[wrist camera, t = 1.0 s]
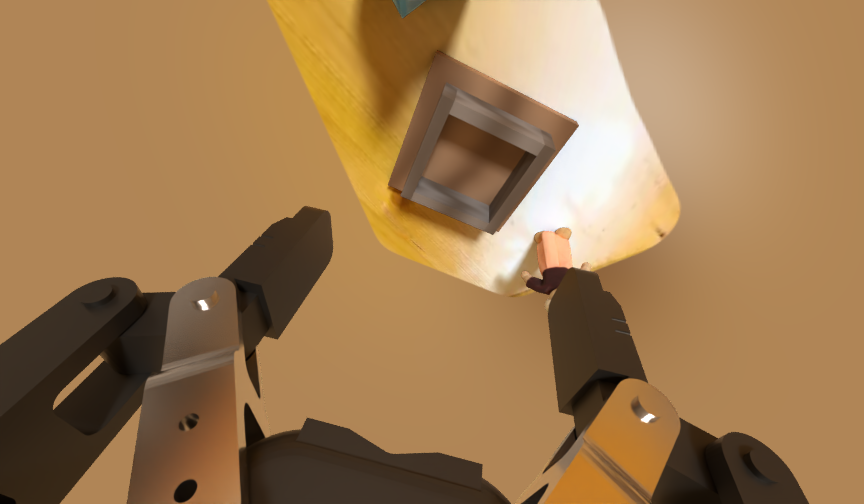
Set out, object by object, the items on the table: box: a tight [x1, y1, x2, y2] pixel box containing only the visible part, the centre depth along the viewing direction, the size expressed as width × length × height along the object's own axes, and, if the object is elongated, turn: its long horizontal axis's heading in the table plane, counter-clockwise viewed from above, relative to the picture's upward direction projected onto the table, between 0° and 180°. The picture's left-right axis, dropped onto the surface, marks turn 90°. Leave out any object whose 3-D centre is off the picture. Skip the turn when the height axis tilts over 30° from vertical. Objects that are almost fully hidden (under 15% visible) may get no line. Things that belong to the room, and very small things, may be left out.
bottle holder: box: [388, 50, 579, 235], centre depth 34 cm, size 15×15×4 cm
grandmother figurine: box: [521, 228, 591, 312], centre depth 37 cm, size 8×4×13 cm, turn 119°
